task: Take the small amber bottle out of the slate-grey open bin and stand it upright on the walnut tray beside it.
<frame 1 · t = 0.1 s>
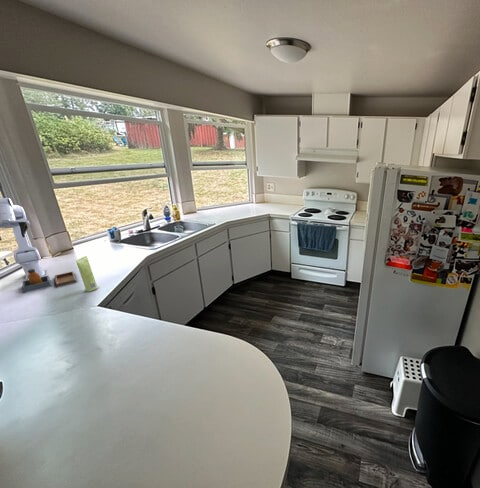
hand: (11, 237, 128), 32 cm above the table, tool tilted 50°, fingers open, 7 cm apart
tray: (65, 280, 152), on the table
bin: (38, 286, 144), on the table
tube: (92, 289, 143), on the table
bottle: (37, 285, 144), resting on bin
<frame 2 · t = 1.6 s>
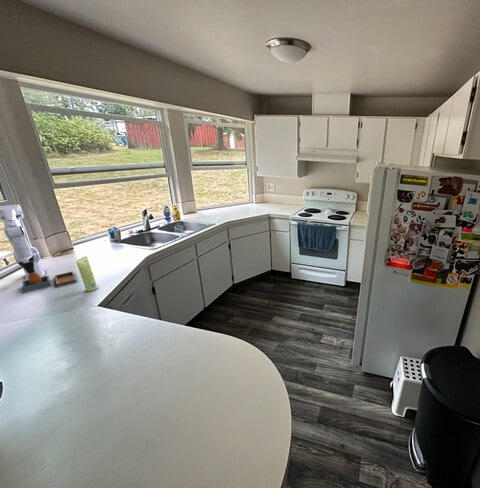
hand: (31, 270, 141), 10 cm above the table, tool pointing down, fingers open, 7 cm apart
nothing on the table moved.
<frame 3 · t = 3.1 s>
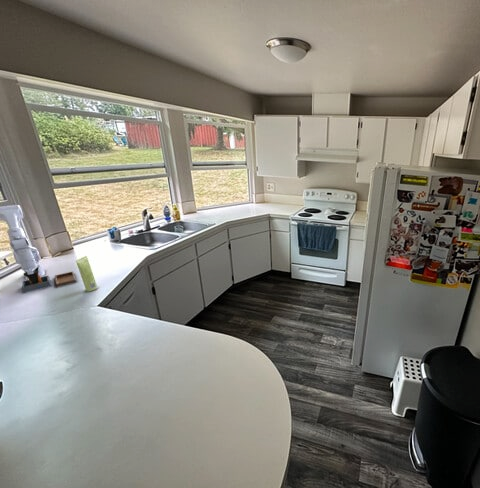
hand: (35, 281, 143), 3 cm above the table, tool pointing down, fingers closed on bottle, 4 cm apart
bottle: (37, 285, 144), resting on bin, touching gripper
everything else where it was.
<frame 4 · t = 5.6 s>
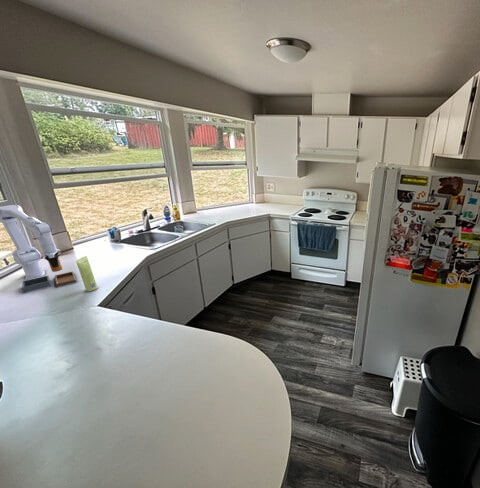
hand: (55, 265, 147), 10 cm above the table, tool pointing down, fingers closed on bottle, 4 cm apart
bottle: (57, 270, 148), point 7 cm above the table, touching gripper
everything else where it was.
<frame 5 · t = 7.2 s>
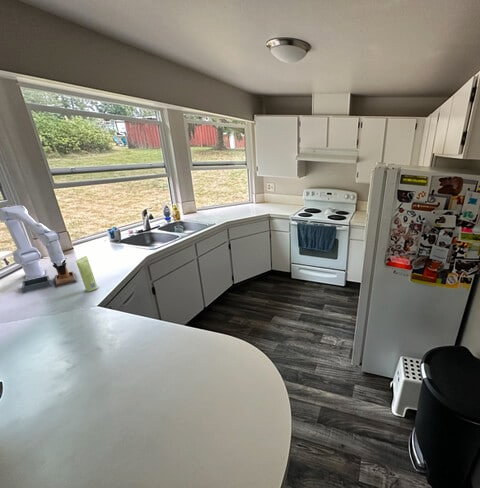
hand: (63, 272, 150), 5 cm above the table, tool pointing down, fingers closed on bottle, 4 cm apart
bottle: (64, 277, 151), point 2 cm above the table, touching gripper
everything else where it was.
when the fingers open (3 cm above the table, at t = 8.3 s): bottle stays where it is, resting on tray.
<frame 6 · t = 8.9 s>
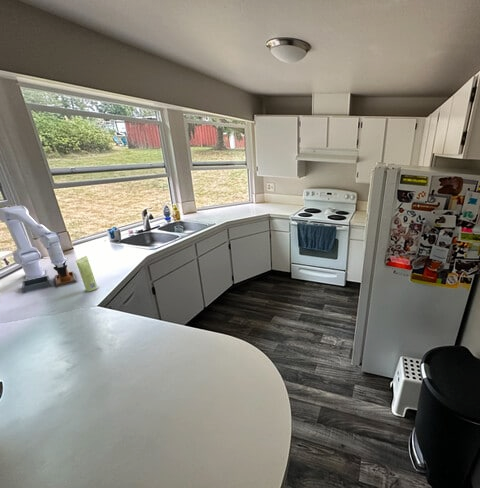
hand: (63, 274, 150), 4 cm above the table, tool pointing down, fingers open, 7 cm apart
bottle: (65, 279, 151), resting on tray
everything else where it was.
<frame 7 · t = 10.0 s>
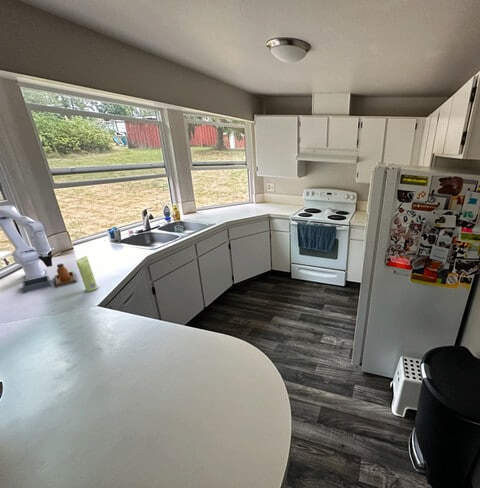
hand: (49, 264, 148), 10 cm above the table, tool pointing down, fingers open, 7 cm apart
nothing on the table moved.
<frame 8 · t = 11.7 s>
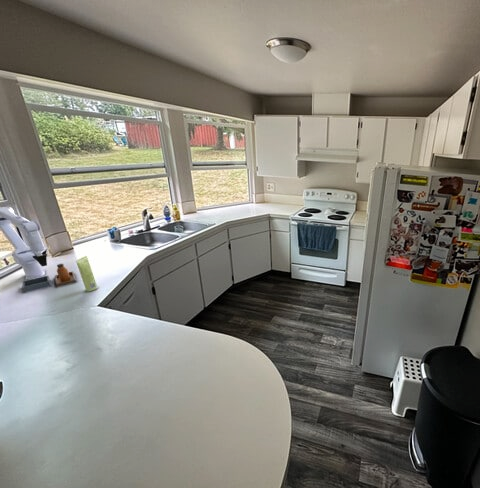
hand: (44, 264, 148), 10 cm above the table, tool pointing down, fingers open, 7 cm apart
nothing on the table moved.
at the end: bottle inside the target area in the tray (0.0 cm from its centre), point 0.4 cm above the tray's base; bottle tilted 0°; the gripper is holding nothing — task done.
